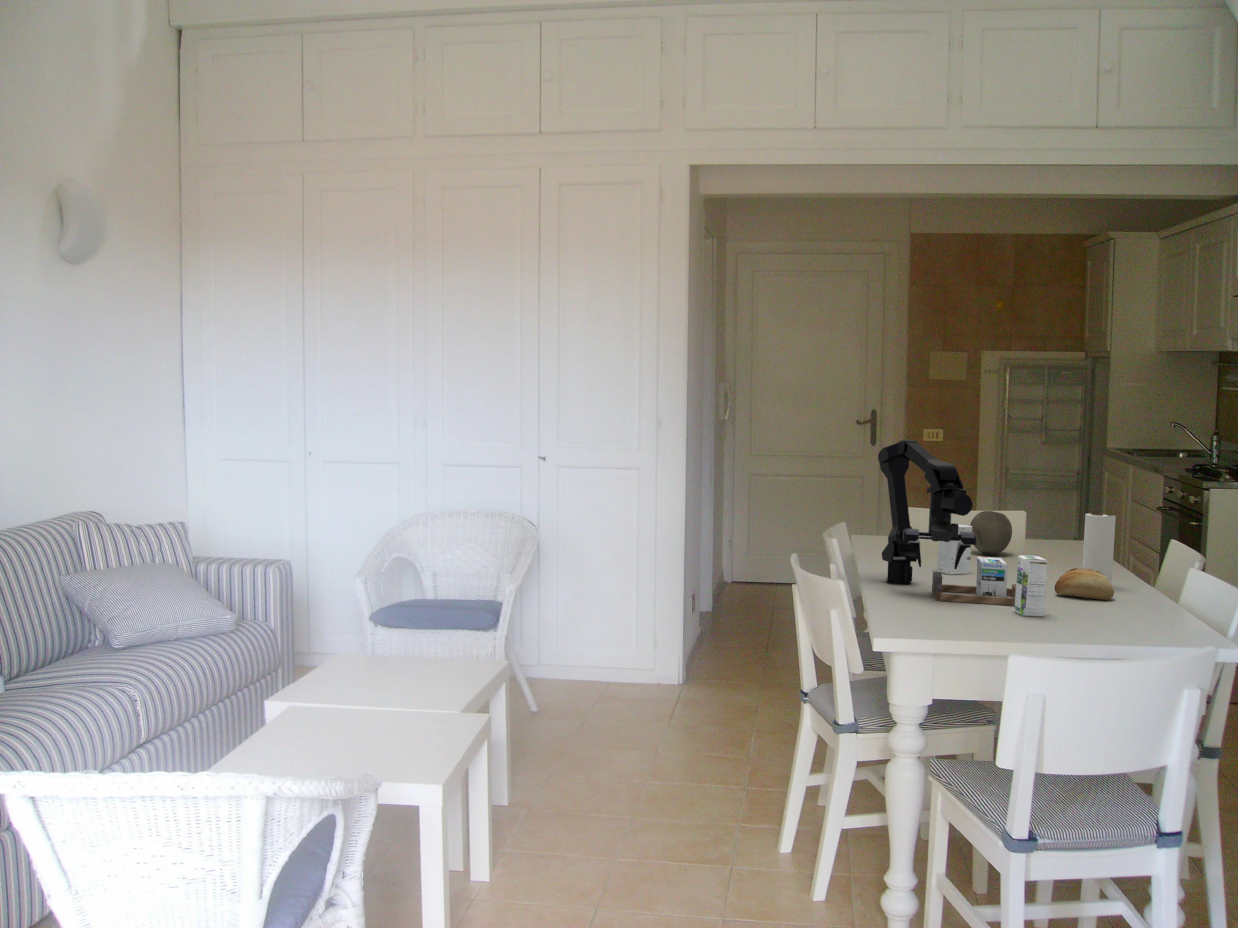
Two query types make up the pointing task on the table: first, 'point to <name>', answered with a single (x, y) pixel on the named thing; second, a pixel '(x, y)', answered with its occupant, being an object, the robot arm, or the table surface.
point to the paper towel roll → (1099, 543)
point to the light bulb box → (991, 577)
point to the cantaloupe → (991, 532)
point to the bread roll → (1084, 584)
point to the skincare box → (953, 555)
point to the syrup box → (1030, 585)
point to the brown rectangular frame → (939, 587)
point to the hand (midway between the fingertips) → (937, 568)
